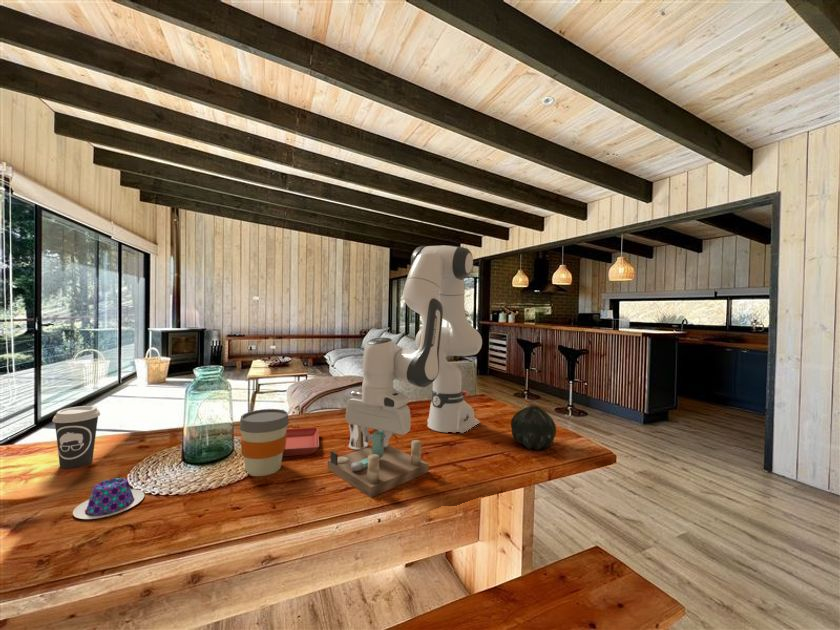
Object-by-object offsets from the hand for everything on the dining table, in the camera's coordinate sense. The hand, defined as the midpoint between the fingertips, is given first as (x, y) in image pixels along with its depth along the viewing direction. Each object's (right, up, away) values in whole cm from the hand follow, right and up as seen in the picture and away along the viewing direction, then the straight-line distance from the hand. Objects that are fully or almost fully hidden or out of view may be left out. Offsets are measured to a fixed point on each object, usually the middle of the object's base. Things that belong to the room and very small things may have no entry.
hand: (376, 443), depth 100 cm
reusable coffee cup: (-31, -7, -2) cm, 32 cm away
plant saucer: (-30, -7, +14) cm, 34 cm away
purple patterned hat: (-57, -6, -21) cm, 61 cm away
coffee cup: (-83, -5, -2) cm, 83 cm away
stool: (+1, -7, -1) cm, 7 cm away
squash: (+51, -9, +22) cm, 57 cm away
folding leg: (-2, -4, -3) cm, 6 cm away
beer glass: (-8, -7, +16) cm, 19 cm away
